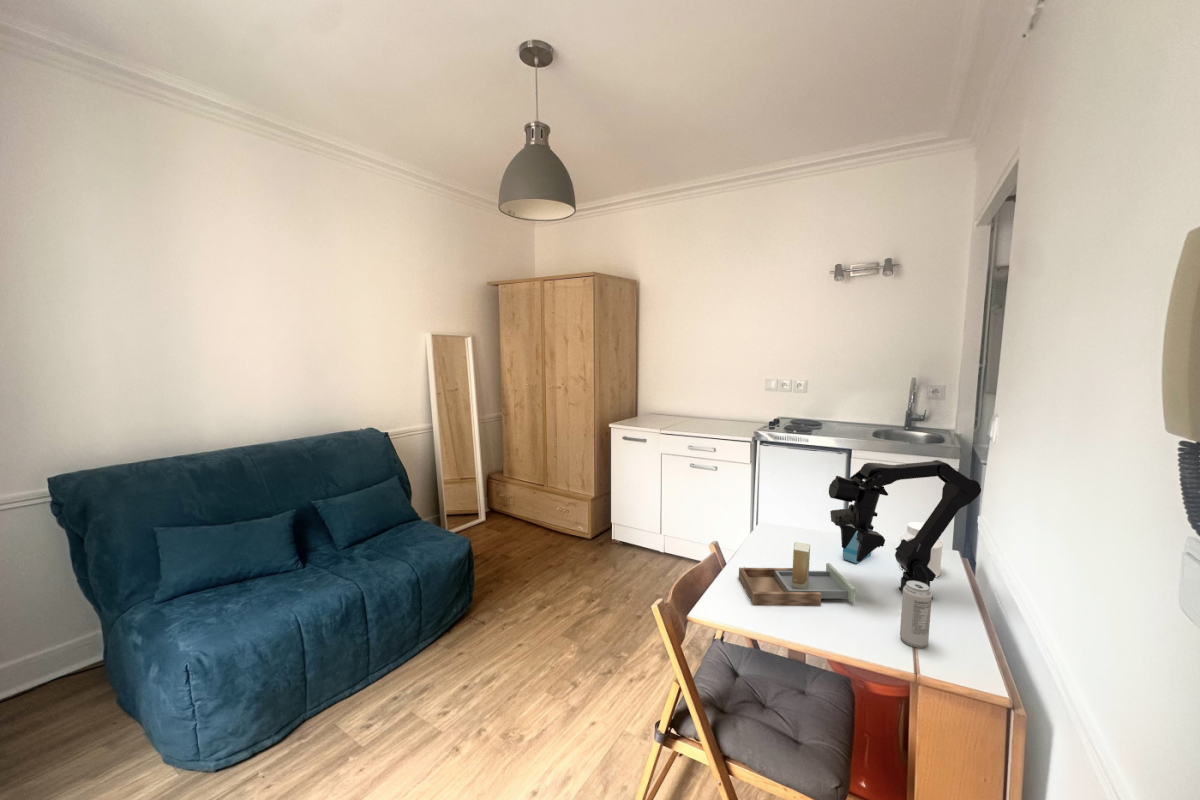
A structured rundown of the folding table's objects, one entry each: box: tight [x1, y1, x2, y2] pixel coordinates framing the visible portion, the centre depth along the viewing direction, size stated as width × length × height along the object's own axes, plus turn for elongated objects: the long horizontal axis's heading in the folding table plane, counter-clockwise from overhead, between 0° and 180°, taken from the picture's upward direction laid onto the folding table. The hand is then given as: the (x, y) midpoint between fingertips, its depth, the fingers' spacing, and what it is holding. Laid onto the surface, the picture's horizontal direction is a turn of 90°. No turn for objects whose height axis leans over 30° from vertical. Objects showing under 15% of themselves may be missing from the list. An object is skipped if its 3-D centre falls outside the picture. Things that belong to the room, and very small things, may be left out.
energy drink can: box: [899, 581, 933, 649], centre depth 121 cm, size 6×6×15 cm
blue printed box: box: [842, 523, 874, 564], centre depth 169 cm, size 12×4×12 cm, turn 128°
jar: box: [898, 521, 944, 578], centre depth 160 cm, size 12×10×15 cm
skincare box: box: [792, 541, 811, 590], centre depth 146 cm, size 6×4×12 cm
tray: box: [774, 562, 856, 603], centre depth 147 cm, size 18×16×4 cm
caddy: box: [738, 567, 822, 607], centre depth 147 cm, size 19×16×4 cm
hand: (850, 554), depth 145 cm, fingers open, 9 cm apart
